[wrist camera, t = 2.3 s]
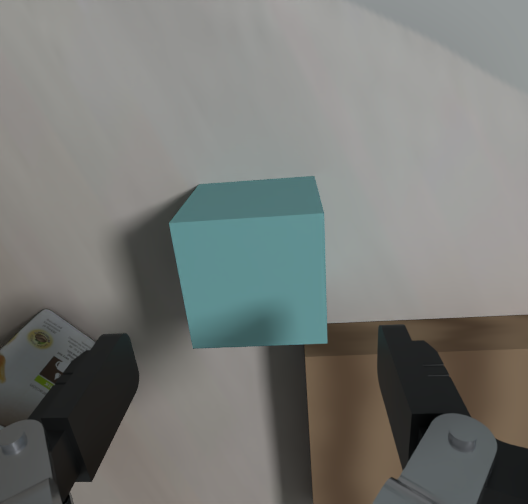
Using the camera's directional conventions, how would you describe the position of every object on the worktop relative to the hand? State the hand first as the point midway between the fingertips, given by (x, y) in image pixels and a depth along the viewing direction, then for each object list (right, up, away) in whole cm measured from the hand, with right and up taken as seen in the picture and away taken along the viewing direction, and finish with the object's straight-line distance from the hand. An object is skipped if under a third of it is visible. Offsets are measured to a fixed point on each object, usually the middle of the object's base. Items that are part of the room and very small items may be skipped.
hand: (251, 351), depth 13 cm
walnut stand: (+11, -8, +14) cm, 20 cm away
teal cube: (0, +4, +9) cm, 10 cm away
